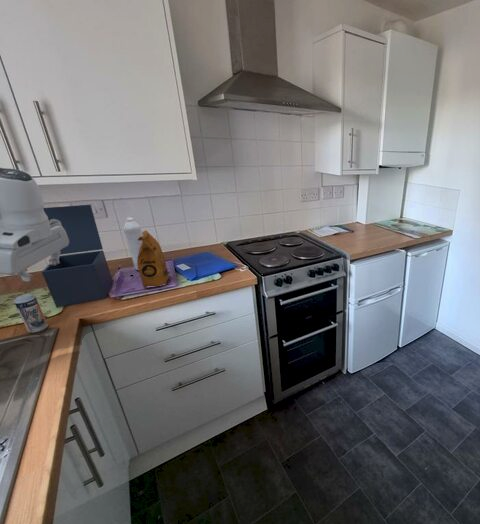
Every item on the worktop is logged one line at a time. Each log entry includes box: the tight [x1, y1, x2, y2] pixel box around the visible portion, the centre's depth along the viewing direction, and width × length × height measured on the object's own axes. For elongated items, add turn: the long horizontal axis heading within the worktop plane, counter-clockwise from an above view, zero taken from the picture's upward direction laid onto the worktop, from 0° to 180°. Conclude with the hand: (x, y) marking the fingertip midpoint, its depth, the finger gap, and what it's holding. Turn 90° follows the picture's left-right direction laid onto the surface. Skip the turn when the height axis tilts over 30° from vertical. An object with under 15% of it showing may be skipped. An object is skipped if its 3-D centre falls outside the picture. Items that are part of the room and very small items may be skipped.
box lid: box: [44, 204, 104, 256], centre depth 121 cm, size 18×15×4 cm
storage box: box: [41, 249, 114, 308], centre depth 117 cm, size 18×15×14 cm
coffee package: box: [137, 229, 170, 288], centre depth 125 cm, size 10×12×22 cm
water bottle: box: [123, 216, 143, 270], centre depth 138 cm, size 9×6×25 cm
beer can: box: [13, 293, 49, 334], centre depth 94 cm, size 5×5×12 cm
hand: (42, 271), depth 90 cm, fingers open, 8 cm apart
